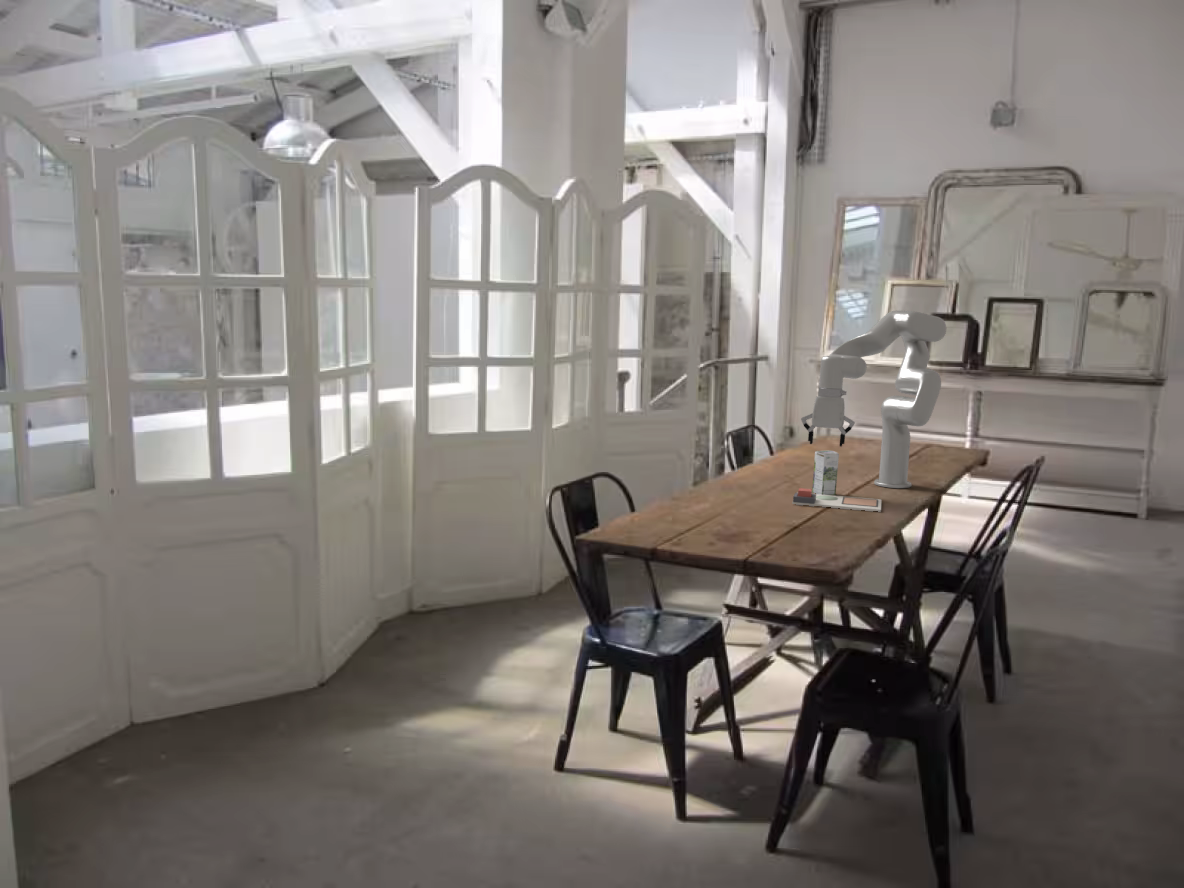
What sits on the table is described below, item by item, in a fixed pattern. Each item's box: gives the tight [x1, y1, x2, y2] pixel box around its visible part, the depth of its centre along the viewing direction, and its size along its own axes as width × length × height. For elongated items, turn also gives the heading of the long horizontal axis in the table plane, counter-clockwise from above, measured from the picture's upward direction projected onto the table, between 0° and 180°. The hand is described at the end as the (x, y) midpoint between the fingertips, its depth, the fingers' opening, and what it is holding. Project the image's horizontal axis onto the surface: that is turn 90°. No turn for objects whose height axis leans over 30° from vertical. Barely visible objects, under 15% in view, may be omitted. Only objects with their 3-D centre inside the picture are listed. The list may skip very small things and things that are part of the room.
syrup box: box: [811, 450, 840, 496], centre depth 327 cm, size 6×6×14 cm
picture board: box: [791, 492, 882, 513], centre depth 314 cm, size 16×27×3 cm, turn 73°
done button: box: [797, 487, 813, 497], centre depth 313 cm, size 4×4×2 cm
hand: (825, 444), depth 325 cm, fingers open, 9 cm apart
